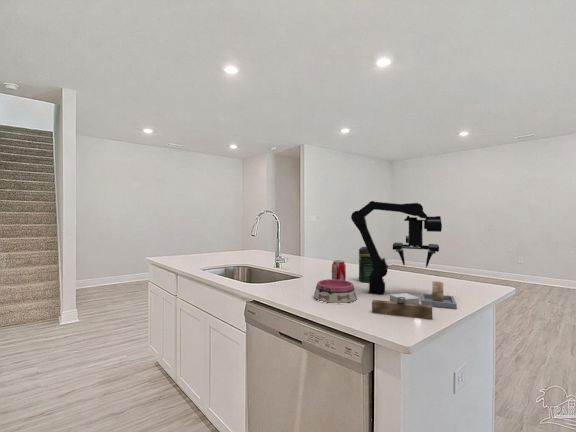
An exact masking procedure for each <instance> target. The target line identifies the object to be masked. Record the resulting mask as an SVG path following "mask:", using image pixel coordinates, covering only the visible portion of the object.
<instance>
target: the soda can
mask: <svg viewBox="0 0 576 432" xmlns="http://www.w3.org/2000/svg"><path fill="white" fill-rule="evenodd" d="M346 272H347V271H346V263H345V261H344V260H333V261H332V264H331V279H335V280H345V281H347V276H346V274H347V273H346Z"/></svg>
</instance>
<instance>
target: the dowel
mask: <svg viewBox="0 0 576 432" xmlns="http://www.w3.org/2000/svg"><path fill="white" fill-rule="evenodd" d="M431 284H432V288H431V289H432V291H431V292H432V301H438V302H443V295H444V282H443V281H435V280H434V281H432V283H431Z"/></svg>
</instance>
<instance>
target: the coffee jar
mask: <svg viewBox="0 0 576 432" xmlns="http://www.w3.org/2000/svg"><path fill="white" fill-rule="evenodd" d="M373 270H374V269H373V264H372V259H371V256H370V254H369V252H368V249H367V247H366V246H361V247H360V248H359V249H358V280H359V281H360V282H363V283H369V278H370V277H369V276H370V273H371V272H372V271H373Z"/></svg>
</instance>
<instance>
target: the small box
mask: <svg viewBox="0 0 576 432" xmlns="http://www.w3.org/2000/svg"><path fill="white" fill-rule="evenodd" d="M397 297H404V298H405V303H413V304H420V297H418V296H415V295H414V294H413V295H412V294H410V293H407V292H404V293H402V292H401V293H394V294H393V293H391V294H389V301H392V302H397Z"/></svg>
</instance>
